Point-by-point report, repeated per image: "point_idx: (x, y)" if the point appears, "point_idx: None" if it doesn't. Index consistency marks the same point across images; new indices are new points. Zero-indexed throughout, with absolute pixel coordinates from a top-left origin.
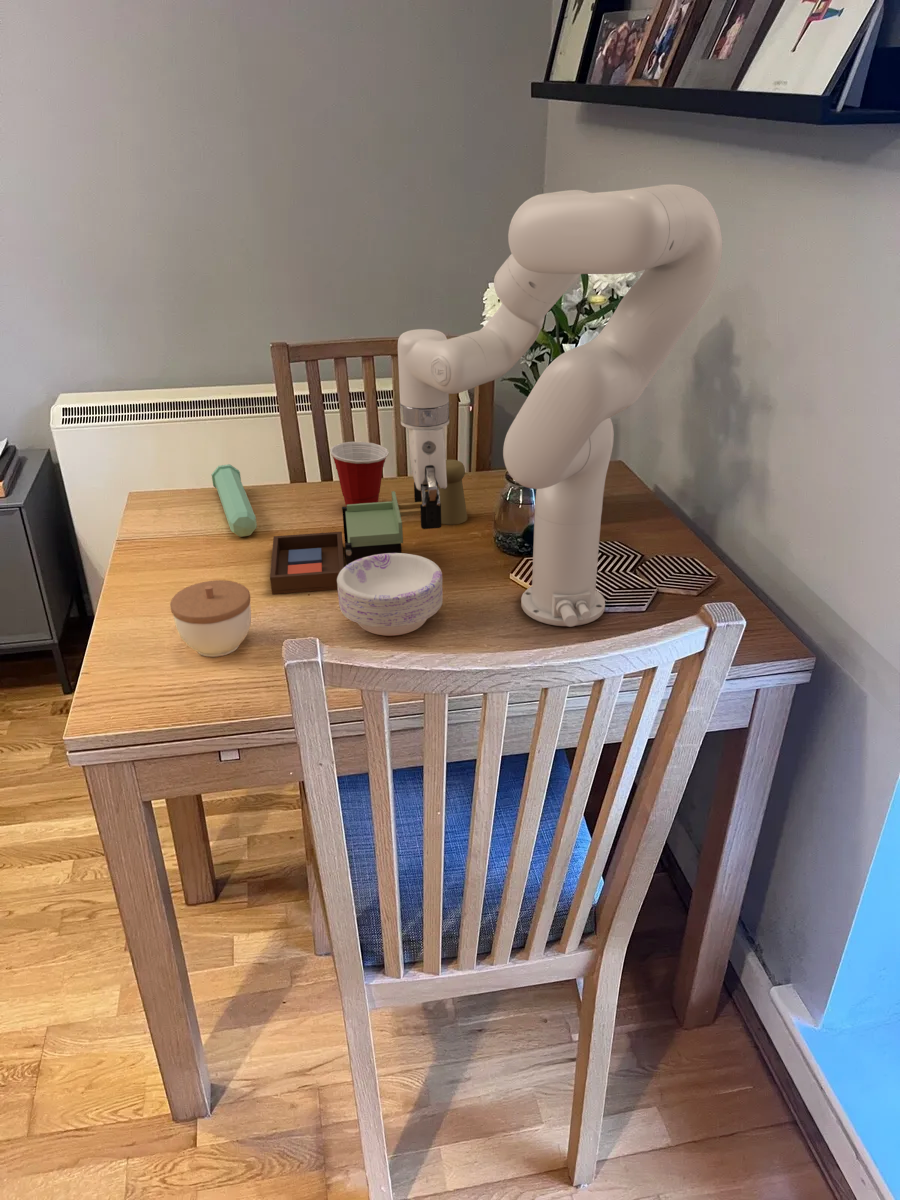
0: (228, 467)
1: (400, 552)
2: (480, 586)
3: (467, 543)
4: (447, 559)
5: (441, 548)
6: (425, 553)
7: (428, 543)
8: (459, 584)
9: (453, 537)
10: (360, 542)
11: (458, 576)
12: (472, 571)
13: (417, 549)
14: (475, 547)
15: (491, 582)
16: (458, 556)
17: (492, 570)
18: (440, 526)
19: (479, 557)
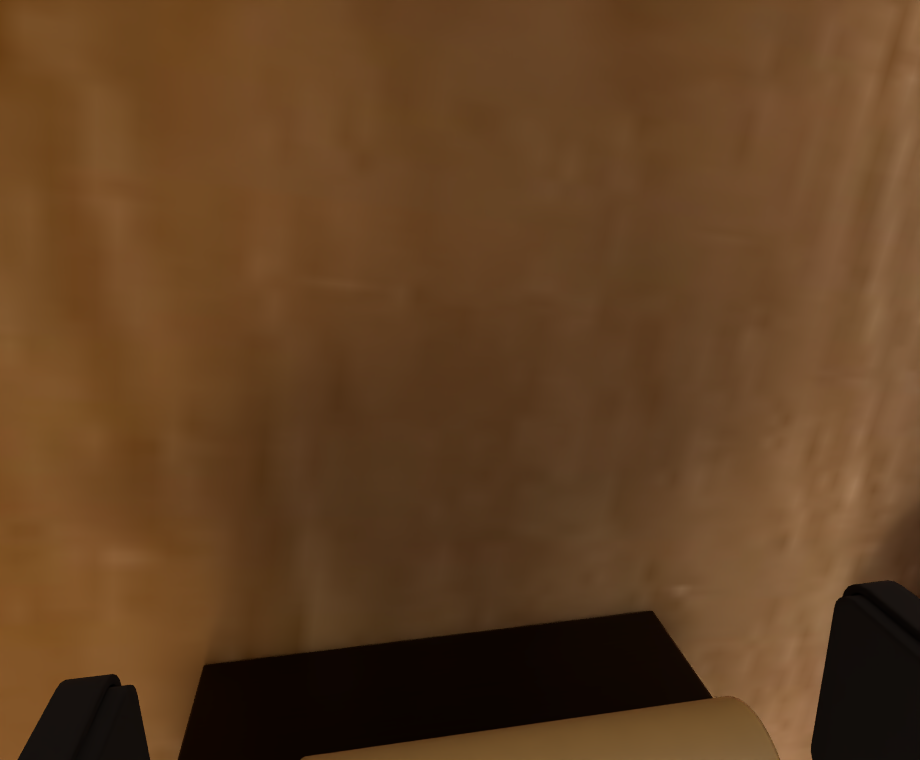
0: None
1: None
2: (864, 152)
3: (139, 142)
4: (428, 336)
5: (232, 367)
6: (311, 482)
7: (133, 457)
8: (799, 289)
9: (5, 252)
10: None
11: (695, 284)
12: (647, 175)
13: (239, 533)
14: (228, 81)
15: (835, 60)
16: (388, 250)
17: (665, 13)
18: (892, 589)
19: (427, 79)
